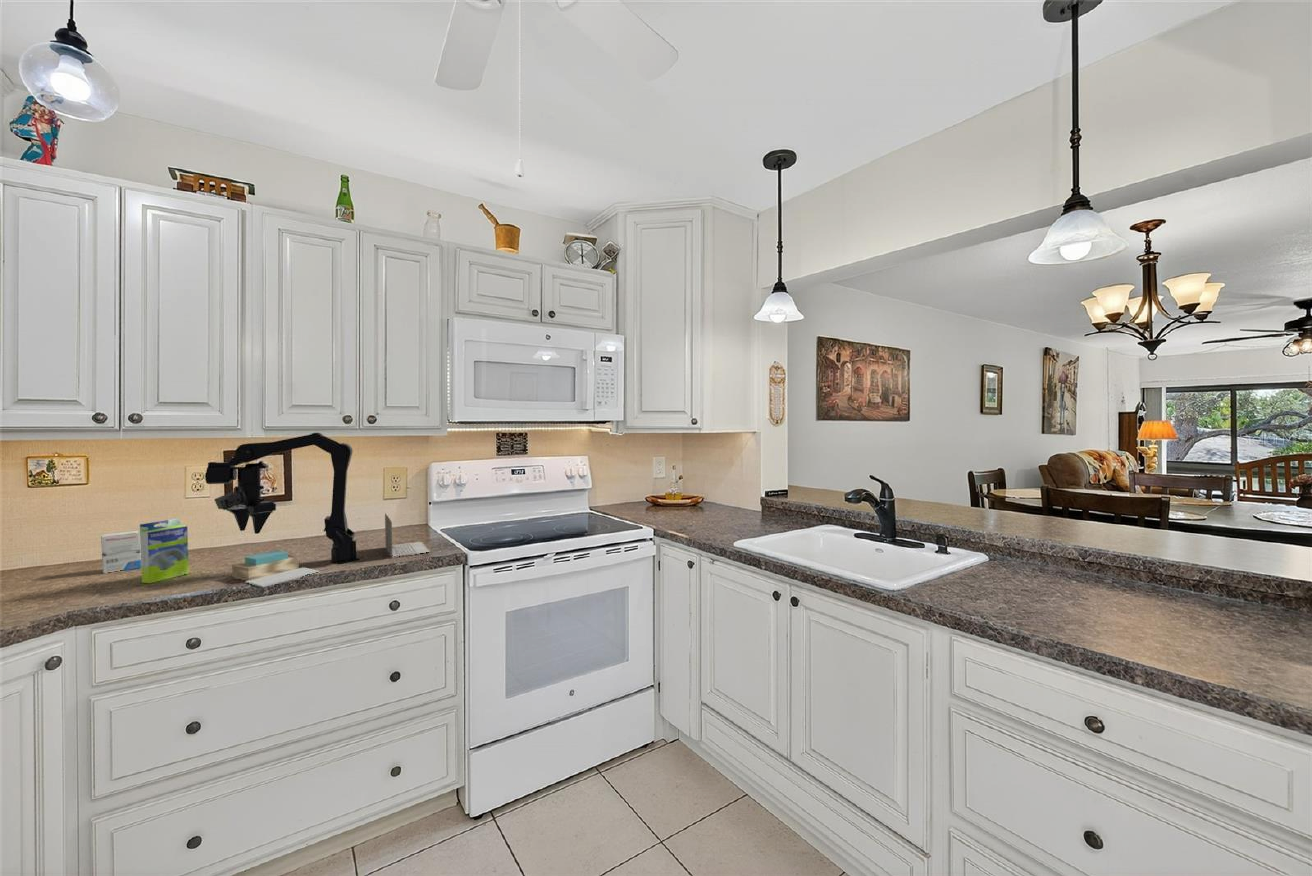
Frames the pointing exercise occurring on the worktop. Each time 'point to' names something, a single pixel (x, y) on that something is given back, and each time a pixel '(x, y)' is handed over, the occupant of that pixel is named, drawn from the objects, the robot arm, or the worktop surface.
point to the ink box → (121, 551)
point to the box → (163, 550)
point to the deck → (264, 568)
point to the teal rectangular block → (266, 557)
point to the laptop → (401, 548)
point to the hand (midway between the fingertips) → (249, 532)
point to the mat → (281, 577)
